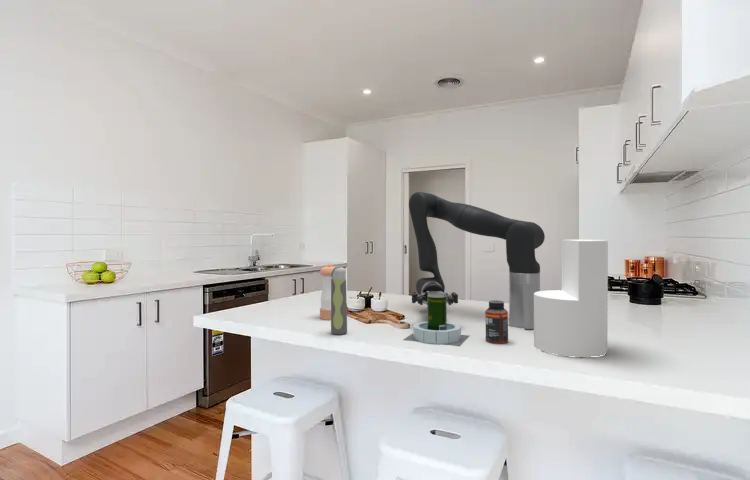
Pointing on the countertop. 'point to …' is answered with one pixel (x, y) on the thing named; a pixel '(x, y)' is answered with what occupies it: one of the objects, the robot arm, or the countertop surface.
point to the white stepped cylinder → (575, 303)
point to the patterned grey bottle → (338, 302)
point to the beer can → (436, 310)
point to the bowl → (437, 333)
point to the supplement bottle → (496, 323)
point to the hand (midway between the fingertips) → (435, 301)
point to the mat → (459, 343)
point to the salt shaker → (326, 292)
